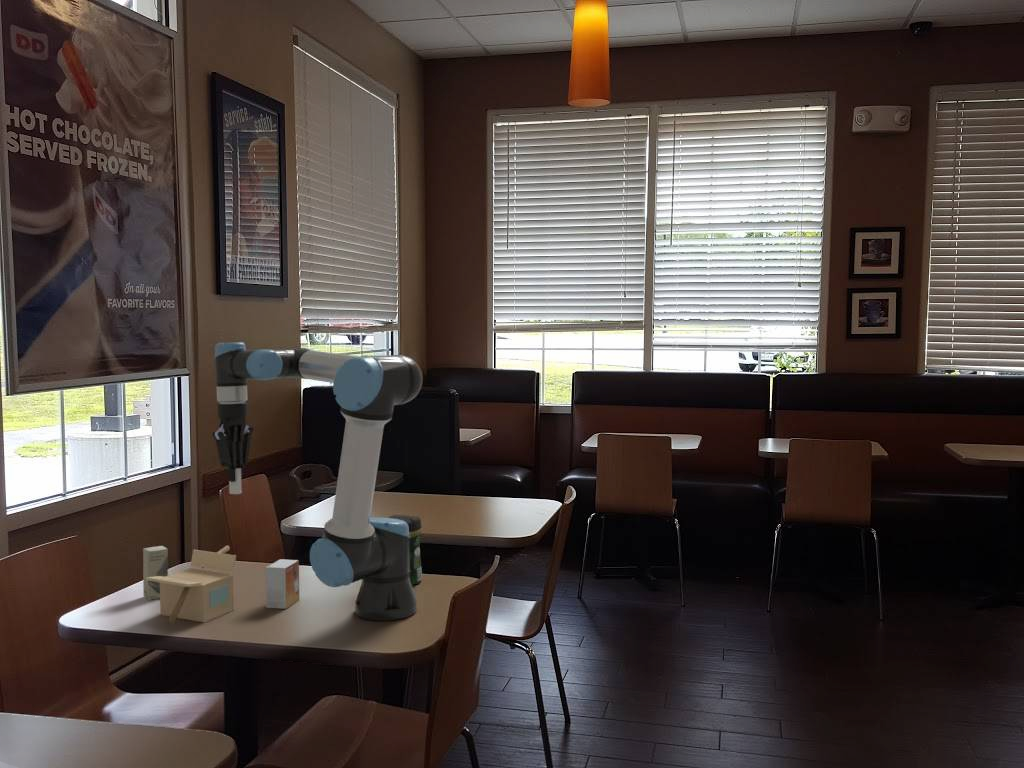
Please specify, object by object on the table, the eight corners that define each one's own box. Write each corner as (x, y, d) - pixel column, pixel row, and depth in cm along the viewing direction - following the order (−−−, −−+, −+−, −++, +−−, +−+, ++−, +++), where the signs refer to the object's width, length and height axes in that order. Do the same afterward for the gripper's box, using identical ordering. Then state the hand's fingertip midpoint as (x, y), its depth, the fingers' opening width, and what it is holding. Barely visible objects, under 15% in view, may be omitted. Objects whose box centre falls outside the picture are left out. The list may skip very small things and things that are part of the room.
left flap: (183, 585, 202) (179, 625, 201) (202, 582, 207) (198, 621, 206) (140, 578, 207) (136, 617, 207) (159, 575, 213) (155, 614, 212)
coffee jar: (381, 584, 238) (380, 517, 237) (394, 576, 246) (394, 511, 245) (413, 587, 235) (413, 519, 234) (426, 579, 243) (425, 513, 242)
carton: (234, 610, 217) (233, 574, 216) (204, 622, 208) (203, 585, 207) (191, 602, 223) (190, 568, 222) (160, 614, 214) (159, 578, 213)
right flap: (231, 573, 216) (256, 573, 224) (235, 548, 217) (260, 549, 225) (190, 566, 222) (215, 567, 230) (194, 543, 223) (219, 544, 231)
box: (148, 600, 224) (147, 551, 223) (143, 596, 228) (141, 548, 227) (169, 596, 228) (168, 548, 227) (163, 592, 231) (162, 544, 230)
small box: (286, 609, 217) (285, 568, 217) (265, 608, 218) (264, 567, 218) (300, 599, 225) (299, 559, 224) (280, 598, 226) (279, 558, 226)
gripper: (237, 400, 231) (241, 488, 233) (202, 404, 219) (206, 497, 221) (260, 400, 228) (263, 489, 230) (226, 404, 216) (229, 498, 218)
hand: (235, 493), depth 225 cm, fingers closed
